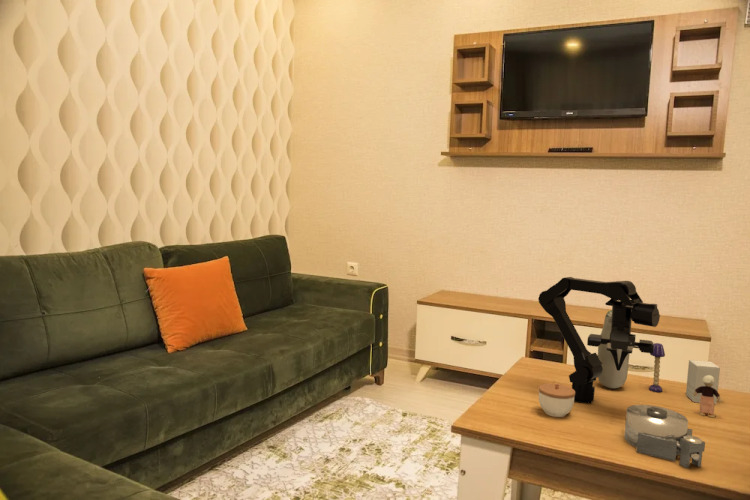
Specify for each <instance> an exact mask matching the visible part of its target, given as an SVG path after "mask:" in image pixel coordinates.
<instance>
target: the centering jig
mask: <svg viewBox="0 0 750 500" xmlns="http://www.w3.org/2000/svg"><path fill="white" fill-rule="evenodd" d="M705 445H706V442H705V441H703V440H702V439H701V438H699V437H698V436H694V435H693V429H692V428H688V427H687V435H686V436H684V438H680V448H681V454H680V457H679V466H681V467H683V468H685V469H690V465H691V464H692V465H693V466H695V467H696V468H700V467H702V461H703V460H702V459H703V452H705ZM676 449H677V441H674V440H670V439H666V438H661V437H657V436H652V435H648V434H644V433H638V441H637V448H636V453H639V454H641V455H646V456H650V457H655V458H657V459H658V458H660V459H663V460H667V461H672V462H676V457H677V455H676ZM694 452H695V453H697V454H698V455H700V459H699V460H697V461H696V460H694V459H693V458H691V457H690V453H694ZM690 463H691V464H690Z"/></svg>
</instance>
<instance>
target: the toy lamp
mask: <svg viewBox="0 0 750 500" xmlns="http://www.w3.org/2000/svg"><path fill="white" fill-rule="evenodd" d="M653 344H654V348H653V353H649V354H650V356H653V357H654V361H653V362H654V365H653V367H654V368H653V382H652V383H653V384H651V385H650V386H649V388H648V390H649V391H651V392H655V393H662V392H663V388H662V386H661V385H660V383H659V382H660V368H661V365H660V364H661V361H660V360H661V358H664V357H665V356H666V354H665V349H664V345H663V344H662V343H657V342H656V343H655V342H653Z"/></svg>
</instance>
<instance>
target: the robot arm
mask: <svg viewBox="0 0 750 500" xmlns="http://www.w3.org/2000/svg"><path fill="white" fill-rule="evenodd" d="M571 291H578V292H583V293H584V292H585V293H591V294H592V293H593V294H599V295H603V296H605V297H607V298H609V300H608V301H606V302H605V303H604V304H605V305H606V306H610V307H612V308H611V310H612V319H611V333H610V339H606V338H602V335H601V334H596V333H595V334H594V333H590V334H589V335H588V336H587V344H586V345H587V346H589V347H596V348H598V346H599V345H601V344H606V345H607V350H608V351H610V352H611V354H612V356H613V358H614V362H615V365H616V369H617V370H618V371H620V369H621V366H622V364H623V362H624V359H625V358H626V356H627V355H628V353H630V354H633V349H638V350H639V351H640V352H641V353H644V354H645V353H646V354H650V353H653V348H654V342H653V341H652V340H647V339H639V341H636V337H637V335H636V334H632V322H633V323H634V324H636V325H640V326H641V325H642V326H647V327H653V328H656V327H658V325H659V323H660V317H661V315H660V311H659V310H660V309H658V304H657V303H647V302H644V301H643V300H642V298H641V297H640V295H639V293H638V292H637V288H636V285H635V284H634V283H633V282H632V281H630V280H616V281H615V280H614V281H600V280H592V279H586V278H584V279H583V278H576V277H572V276H567V277H562V278H561V279H560V280H559V281H557V283H555V284H553V285H552V286H550V287H549V288H548V289H546V290H544V291H541V292H540V293H539V295H538V298H537V299H538V303H539V304H540V307H541V308H542V309H543V310H544V311H545V312H546V313H547V314H548V315H549V316H551V318H552V319H553V320H554V322H555V324H556V326H557V328H558V329H559V332H560V333H561V336H562V337H563V340H565V343H566V345H567V347H568V348H569V350H570V352H571V354H572V356H573V367H574V371H573V372H572V373H570V374H569V375H568V379H569V382H570V383H571V384H572V385H571V388H572V389H574V390H575V397H574V402H578V403H584V404H589V405H591V404H592V402H593V401H594V399H595V389H596V387H595V386H594V382H595V381H596V380H597V379H598V377H599V376H600V375H601V373H602V370H603V368H602V365H601V364H603V363H602V362H601V361H600V360H599V358H598V353H597V352H593V353H592V352H590V351H589V350H588V349H587V347H586V345H585V343H584V342H583V340H582V337H581V335H580V334H579V332H578V331H577V329H576V327H575V326H574V324H573V321H572V320H571V318H570V316H569V314H568V312H567V309H566V308H567V307H566V301H565V297H567V296H568V295H569V294H570V292H571ZM618 349H622V352H621V357H620V361H618Z"/></svg>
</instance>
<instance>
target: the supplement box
mask: <svg viewBox="0 0 750 500" xmlns="http://www.w3.org/2000/svg"><path fill="white" fill-rule="evenodd" d="M687 365H688V369H687V378H686V389H685V396H687V397H688V398H689V399H690V400H691V401H692V402H693V403H697V404H698V403H699V404H700V399H701V395H702V393H698V394H697V395H696V396H693V393H694V391H695V389H697V388H698V387H701V386H705V384H704V383H703V382H702V379H703V378H704V377H705V376H707V375H710V376H713V377H714V381H715V382H714V384H713V386H711V387H712V388H714V389H716V390H717V392H718V393H719V391H718V390H719V380H720V373H721V372H720V371H721V367H720V366H718V365H717V364H715V363H714V362H713V361H708V360H707V361H706V360H694V359H693V360H692V359H690V360H688V364H687ZM713 397H714V405H717V402H718V399H717V397H716V396H715V395H714V394H713Z"/></svg>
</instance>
